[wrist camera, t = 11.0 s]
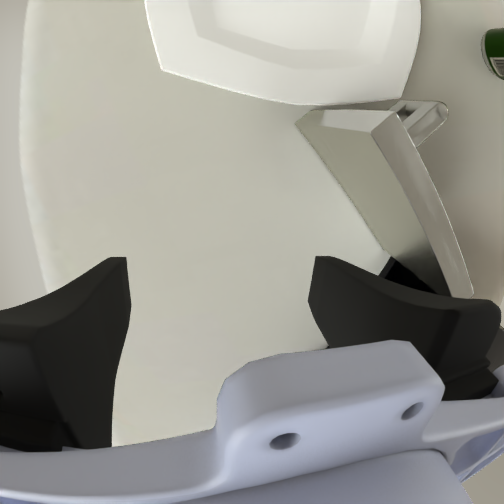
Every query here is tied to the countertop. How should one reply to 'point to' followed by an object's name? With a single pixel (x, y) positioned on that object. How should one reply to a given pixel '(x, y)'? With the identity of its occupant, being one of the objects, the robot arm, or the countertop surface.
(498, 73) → the beer can
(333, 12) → the plate
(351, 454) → the robot arm
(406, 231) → the microwave door
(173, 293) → the countertop surface
